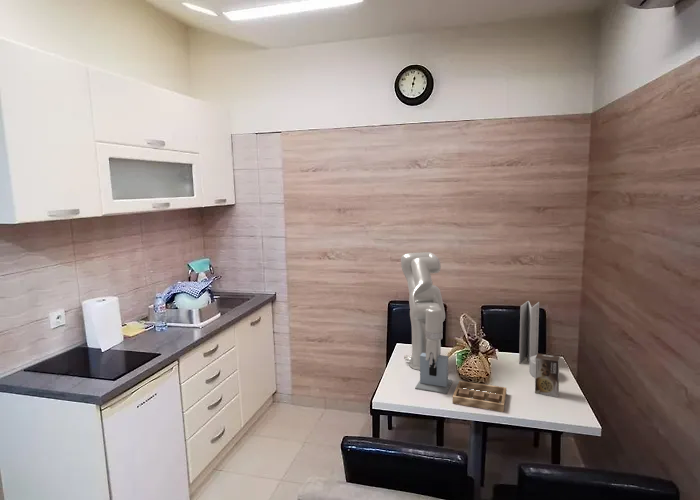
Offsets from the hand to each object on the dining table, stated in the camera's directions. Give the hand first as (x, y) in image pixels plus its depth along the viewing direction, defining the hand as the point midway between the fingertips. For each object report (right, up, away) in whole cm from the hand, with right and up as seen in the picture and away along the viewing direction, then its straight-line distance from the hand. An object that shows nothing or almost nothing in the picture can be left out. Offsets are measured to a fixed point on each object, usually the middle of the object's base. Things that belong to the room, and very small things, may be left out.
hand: (434, 373), depth 193 cm
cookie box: (+47, -6, -9) cm, 48 cm away
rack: (+17, -7, -14) cm, 23 cm away
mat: (0, -6, +1) cm, 6 cm away
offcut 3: (+21, -8, -19) cm, 29 cm away
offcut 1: (+10, -7, -15) cm, 19 cm away
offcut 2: (+15, -8, -17) cm, 24 cm away
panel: (0, -5, +1) cm, 5 cm away
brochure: (+54, -1, +27) cm, 61 cm away
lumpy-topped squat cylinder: (+53, -4, +8) cm, 54 cm away
